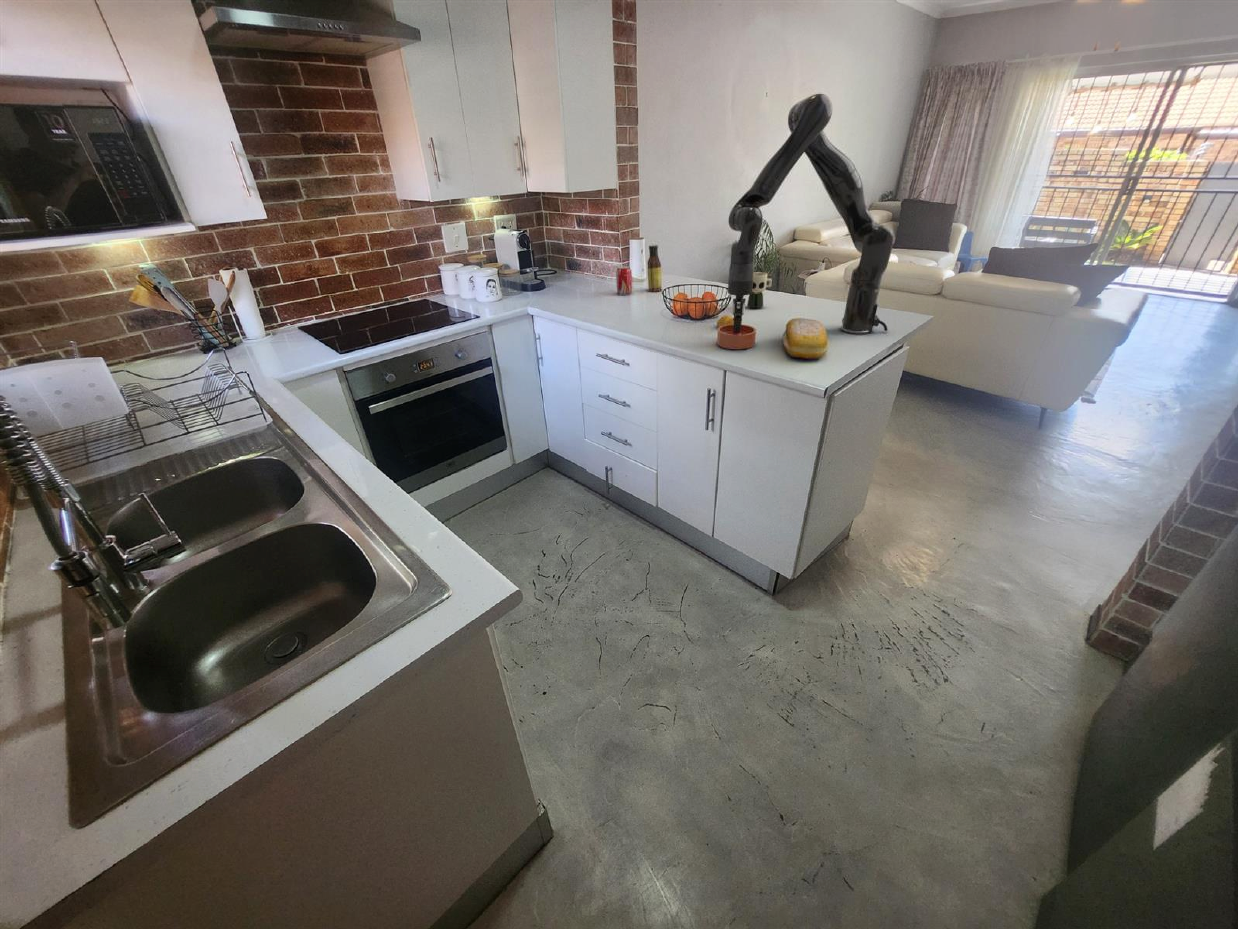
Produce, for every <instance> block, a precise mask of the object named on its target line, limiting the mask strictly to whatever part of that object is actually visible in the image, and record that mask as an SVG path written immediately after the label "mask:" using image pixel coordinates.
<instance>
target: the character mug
mask: <svg viewBox="0 0 1238 929" xmlns="http://www.w3.org/2000/svg"><path fill="white" fill-rule="evenodd" d="M772 279H773V278H768V273H767V272H761V271H759V272H758V271H757V272H756V271H754V277H753V289H752V293H751V294H749V295H748V299H747V304H746V306H747V307H748V308H749V309H755V307H756V309H761V308H763V307H764V293H763V292H765V291H766V290H767V288H771V287H772V281H773V280H772ZM767 282H768V284H767Z"/></svg>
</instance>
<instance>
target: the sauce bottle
mask: <svg viewBox="0 0 1238 929" xmlns="http://www.w3.org/2000/svg"><path fill="white" fill-rule="evenodd" d="M658 249H659V245H658V244H650V245H648V250H649V258H648V259H647V284H648V285H647V286H648V291H649V292H653V293H657V292H660V291H662V286H663V284H662V283H663V282H662V264H661V261H660V258H659V253H658V252H659V251H658Z"/></svg>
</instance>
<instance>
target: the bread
mask: <svg viewBox="0 0 1238 929" xmlns="http://www.w3.org/2000/svg"><path fill="white" fill-rule="evenodd" d="M782 343H783V348H784V349H785V351H786V352H787V354H788V355H790V357H793V358H799V359H805V360H811V359H815V360H816V359H821V358H823V357H824V356H825V355H826V354H827V352H828V349H829V347H828V346H829V343H828V335H827V330H826V329H825V326H824V324H823V322H821V321H819V320H816V319H812V318H805V317H796V318H792V319H790V320H789V321H787V323H786V324H785V330H784V332H783V334H782Z"/></svg>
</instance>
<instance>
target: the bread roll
mask: <svg viewBox="0 0 1238 929" xmlns="http://www.w3.org/2000/svg"><path fill="white" fill-rule="evenodd" d="M733 319H734V316H731V315H723V316H721V317H720V318H719V319H717V321H716V325H717V327H718V328H719V327H721V326H724V325H730V324H734V321H733ZM741 324H743V320H742V321H741Z"/></svg>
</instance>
